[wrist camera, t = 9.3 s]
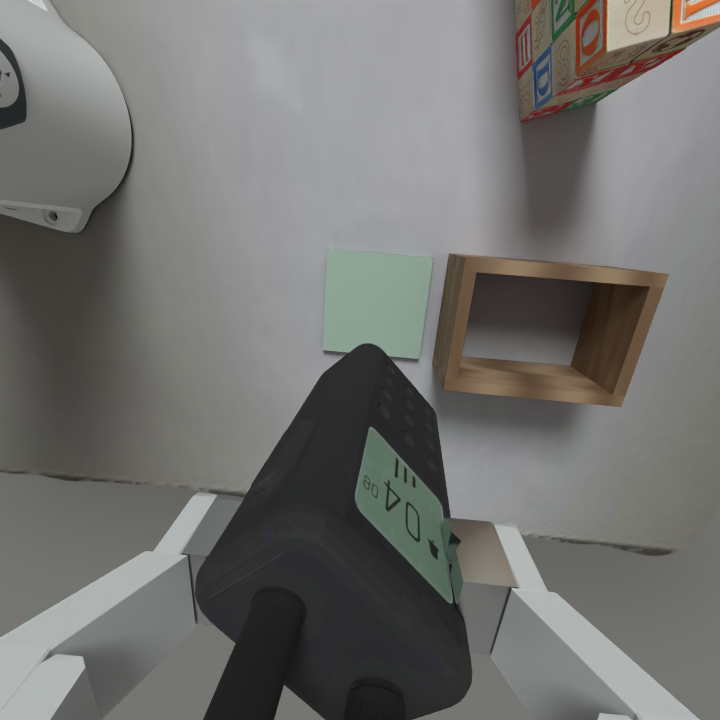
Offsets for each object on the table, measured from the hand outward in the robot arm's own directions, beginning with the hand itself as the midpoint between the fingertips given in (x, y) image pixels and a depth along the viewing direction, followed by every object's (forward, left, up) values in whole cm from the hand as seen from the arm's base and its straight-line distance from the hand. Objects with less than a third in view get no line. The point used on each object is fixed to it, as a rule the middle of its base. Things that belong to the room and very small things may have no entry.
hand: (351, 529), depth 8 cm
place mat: (0, 0, -29) cm, 29 cm away
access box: (+14, 0, -29) cm, 32 cm away
